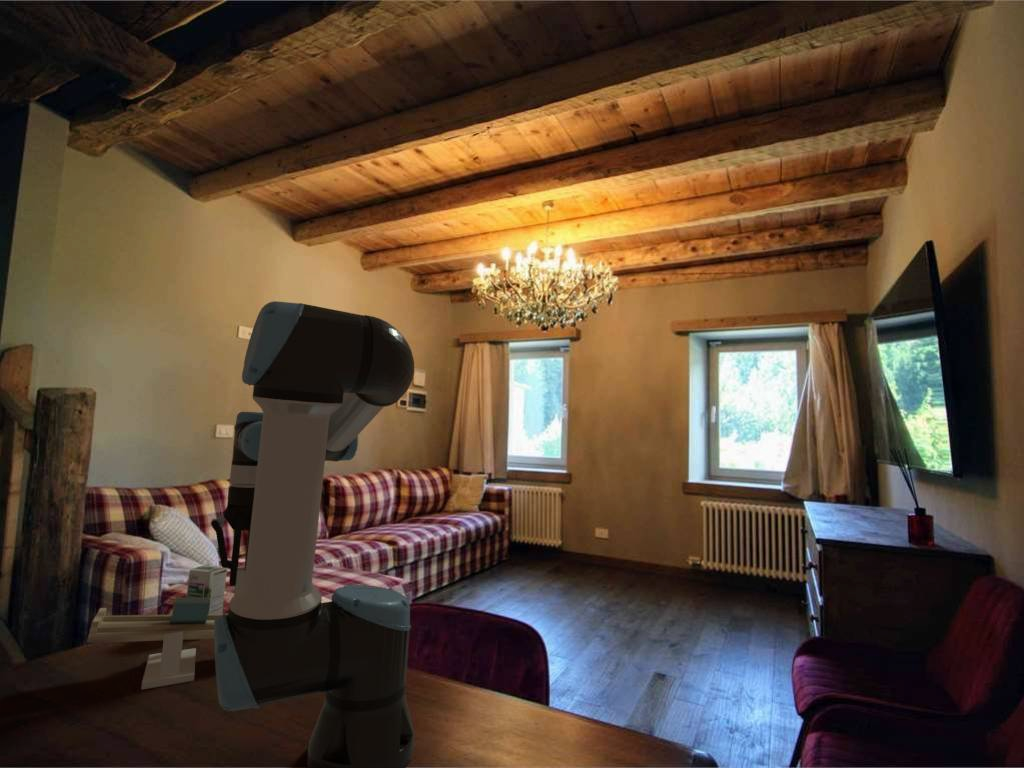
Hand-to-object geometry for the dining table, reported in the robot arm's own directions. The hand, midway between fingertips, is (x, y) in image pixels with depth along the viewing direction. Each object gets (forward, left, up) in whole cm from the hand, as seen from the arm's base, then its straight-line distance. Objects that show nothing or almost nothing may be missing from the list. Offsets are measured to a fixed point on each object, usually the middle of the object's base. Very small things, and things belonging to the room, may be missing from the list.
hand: (237, 601), depth 105 cm
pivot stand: (0, +10, -12) cm, 16 cm away
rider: (0, +8, -3) cm, 9 cm away
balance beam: (0, +11, -8) cm, 13 cm away
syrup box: (+19, +5, -12) cm, 23 cm away
